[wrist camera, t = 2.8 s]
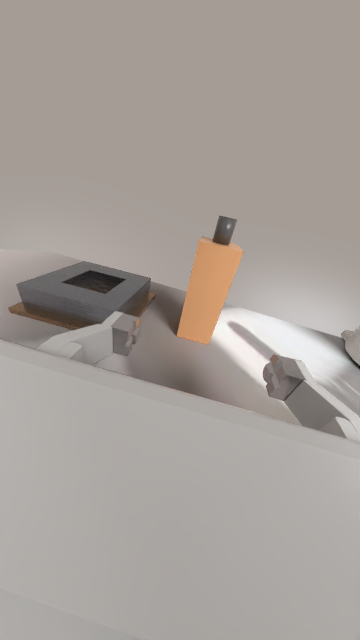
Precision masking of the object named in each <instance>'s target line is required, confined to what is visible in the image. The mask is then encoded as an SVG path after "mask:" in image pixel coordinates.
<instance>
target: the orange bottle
mask: <svg viewBox="0 0 360 640" xmlns="http://www.w3.org/2000/svg"><path fill="white" fill-rule="evenodd" d="M236 222H237V220H236V219H232V218H227V217H223V216H219V219H218V223H217V226H216V230H215V234H214V238H213V239H210V238H206V237H201V239H200V240H199V243H198V247H197V251H196V256H195V260H194V264H193V269H192V273H191V277H190V281H189V285H188V290H187V294H186V298H185V302H184V307H183V311H182V315H181V319H180V324H179V328H178V332H177V337H181V338H185V339H188V340H192V341H196V342H199V343H203V344H207V345H208V344H209V342H210V339H211V336H212V334H213V331H214V328H215V326H216V323H217V321H218V318H219V315H220V313H221V310H222V307H223V305H224V302H225V299H226V297H227V294H228V291H229V289H230V286H231V283H232V281H233V278H234V276H235V273H236V270H237V268H238V265H239V262H240V260H241V257H242V254H243V250H242V249H241V248H240V247H239V246H238V245H235V244H231V243H230V240H231V237H232V234H233V231H234V228H235V225H236Z"/></svg>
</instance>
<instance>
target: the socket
mask: <svg viewBox="0 0 360 640" xmlns="http://www.w3.org/2000/svg"><path fill="white" fill-rule="evenodd" d="M150 280H151V278H148V277H144V276H140V275H136V274H132V273H128V272H124V271H121V270H117V269H113V268H109V267H105V266H101V265H97V264H93V263H89V262H85V261H84V262H81V263H78V264H75V265H72V266H69V267H66V268H63V269H60V270H57V271H54V272H51V273H48V274H45V275H42V276H39V277H36V278H34V279H31V280H28V281H25V282H22V283H19V284H16V285H17V287H18V290H19V293H20V296H21V299H22V302H20V303H18V304H16V305H14V306H11V307H9V308H8V309H9V311H10V312H11V313H15V314H18V315H22V316H26V317H29V318H33V319H36V320H40V321H44V322H47V323H51V324H55V325H58V326H62V327H65V328H69V329H73V330H77V329H80V328H84V327H88V326H92V325H95V324H102V323H103V322H104V321H105V320H106V319H107V318H108V317H109V316H110V315H111V314H113V313H114V312H115V311H118V312H122V313H125V314H129V315H132V316H136V317H140V316H141V315H142V313H143V312H144V311H145V309H146V308H147V307H148V305H149V304H150V303H151V301H152V300H153V299H154V297H155V296H156V293H154V292H151V291H149V290H150Z"/></svg>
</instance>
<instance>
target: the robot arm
mask: <svg viewBox="0 0 360 640" xmlns="http://www.w3.org/2000/svg"><path fill="white" fill-rule="evenodd" d="M139 325H140V318H139V317H136V316H132V315H129V314H125V313H122V312H118V311H115V312H114V313H113V314H111V315H110V316H109V317H108V318H107V319H106V320H105V321H104V322H103V323H102V324H95V325H92V326H88V327H84V328H80V329H77V330H73V331H69V332H65V333H62V334H58V335H54V336H52V337H51V338H50V339H48V340H47V341H46V342H44V343H43V344H41V345H40V346H39V347H37V348H36V349H33V348H30V347H26V346H23V345H19V344H16V343H12V342H9V341H5V340H2V339H0V640H360V417H359V416H358V415H356V414H355V413H354V412H353V411H351V410H350V409H349V408H348V407H346V406H345V405H344V404H343V403H342V402H340V401H339V400H338V399H337V398H335V397H334V396H333V395H332V394H331V393H329V392H328V391H327V390H326V389H324V388H323V387H322V386H321V385H319V384H316V382H315V380H314V379H313V377H312V376H311V374H310V372H309V371H308V369H307V367H306V366H305V364H304V363H303V362H302V361H300V360H296V359H291V358H287V357H283V356H279V355H275V354H274V355H273V356H272V357H271V358H270V361H271V362H270V363H268V364H266V366H265V367H264V370H263V378H264V380H265V381H266V383H267V385H266V388H267V391H268V395H269V396H270V397H273V398H276V399H279V400H283V401H284V402H285V404H286V405H287V406H288V408H289V409H290V410H291V411H292V413H293V414H294V415H295V417H296V418H297V419H298V420H299V422H300V423H301V424H302V426H301V425H297V424H294V423H290V422H287V421H283V420H280V419H276V418H273V417H270V416H266V415H263V414H259V413H256V412H252V411H249V410H245V409H242V408H239V407H235V406H232V405H228V404H225V403H221V402H218V401H214V400H211V399H207V398H204V397H200V396H197V395H193V394H190V393H186V392H183V391H179V390H176V389H172V388H169V387H165V386H162V385H158V384H155V383H151V382H148V381H144V380H141V379H137V378H134V377H130V376H127V375H123V374H120V373H117V372H113V371H110V370H106V369H103V368H99V367H96V366H92V365H93V364H94V363H96V362H98V361H100V360H102V359H104V358H105V357H107V356H109V355H111V354H113V353H116V354H120V355H124V356H128V354H129V352H130V351H131V349H132V345H134V344H135V343H136V341H137V339H138V337H139V331H140V329H139V328H138V326H139ZM341 336H342V337H343V339H344V340H345V349H346V351H347V352H348V354H349V355H350V356H351V358H352V359H353V360H354V361H355V362H356V363H357V364H358V365H360V326H359V328H357V329H356V330H355V331H354V332H353V331H347V330H346V331H344V332H343V333H342V334H341Z"/></svg>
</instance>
